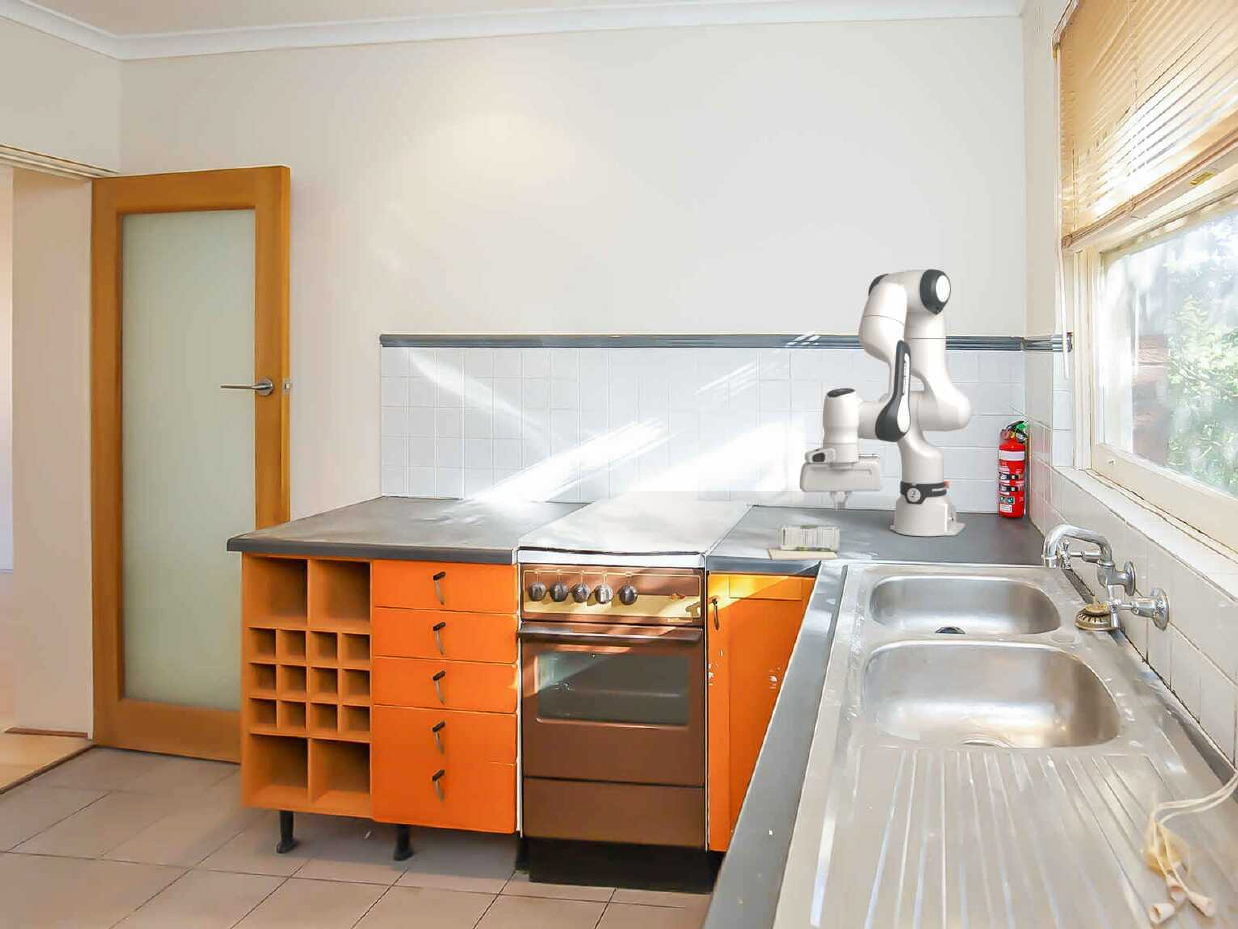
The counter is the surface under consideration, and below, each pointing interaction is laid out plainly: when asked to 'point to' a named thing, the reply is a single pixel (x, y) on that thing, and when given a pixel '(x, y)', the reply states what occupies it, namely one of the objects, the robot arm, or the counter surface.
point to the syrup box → (810, 538)
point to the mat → (799, 554)
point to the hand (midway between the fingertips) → (840, 509)
